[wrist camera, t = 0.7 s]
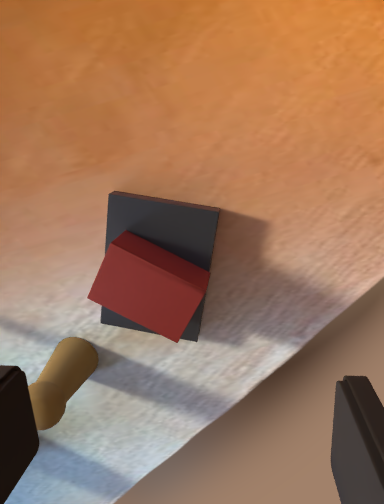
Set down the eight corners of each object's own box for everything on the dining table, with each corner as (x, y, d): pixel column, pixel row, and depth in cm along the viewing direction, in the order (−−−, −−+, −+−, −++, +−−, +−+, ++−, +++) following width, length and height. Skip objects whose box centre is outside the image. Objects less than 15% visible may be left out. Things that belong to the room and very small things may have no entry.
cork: (98, 340, 48) (58, 398, 38) (99, 378, 50) (61, 443, 39) (54, 334, 48) (3, 389, 38) (56, 372, 50) (8, 435, 40)
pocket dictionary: (125, 229, 40) (110, 242, 36) (210, 272, 41) (206, 291, 36) (104, 279, 43) (86, 298, 38) (184, 319, 43) (177, 343, 38)
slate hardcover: (114, 190, 41) (108, 193, 39) (219, 208, 40) (218, 212, 38) (106, 315, 47) (100, 323, 45) (199, 333, 46) (197, 342, 44)
